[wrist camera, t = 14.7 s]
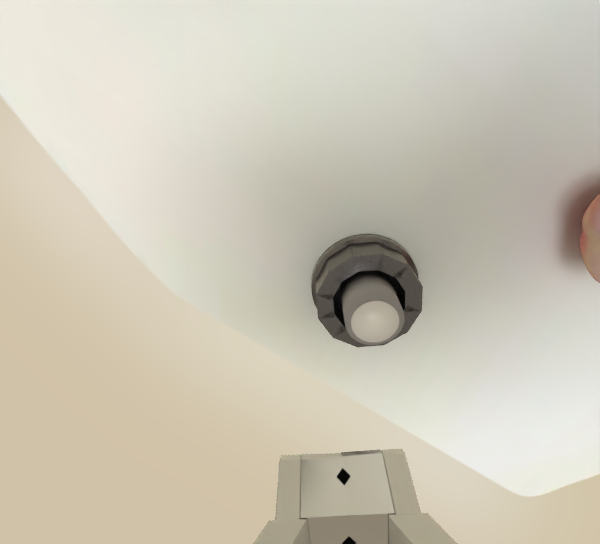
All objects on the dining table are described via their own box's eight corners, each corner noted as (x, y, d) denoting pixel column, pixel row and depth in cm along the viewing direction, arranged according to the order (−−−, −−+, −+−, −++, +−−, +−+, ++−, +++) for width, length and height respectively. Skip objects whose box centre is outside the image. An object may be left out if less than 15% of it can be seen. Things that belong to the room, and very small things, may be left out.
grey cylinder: (390, 262, 38) (405, 293, 33) (390, 307, 40) (404, 345, 35) (338, 266, 38) (343, 298, 33) (340, 311, 41) (346, 349, 35)
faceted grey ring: (417, 229, 38) (429, 245, 34) (414, 323, 42) (425, 345, 39) (307, 239, 38) (307, 255, 35) (315, 330, 43) (316, 353, 39)
